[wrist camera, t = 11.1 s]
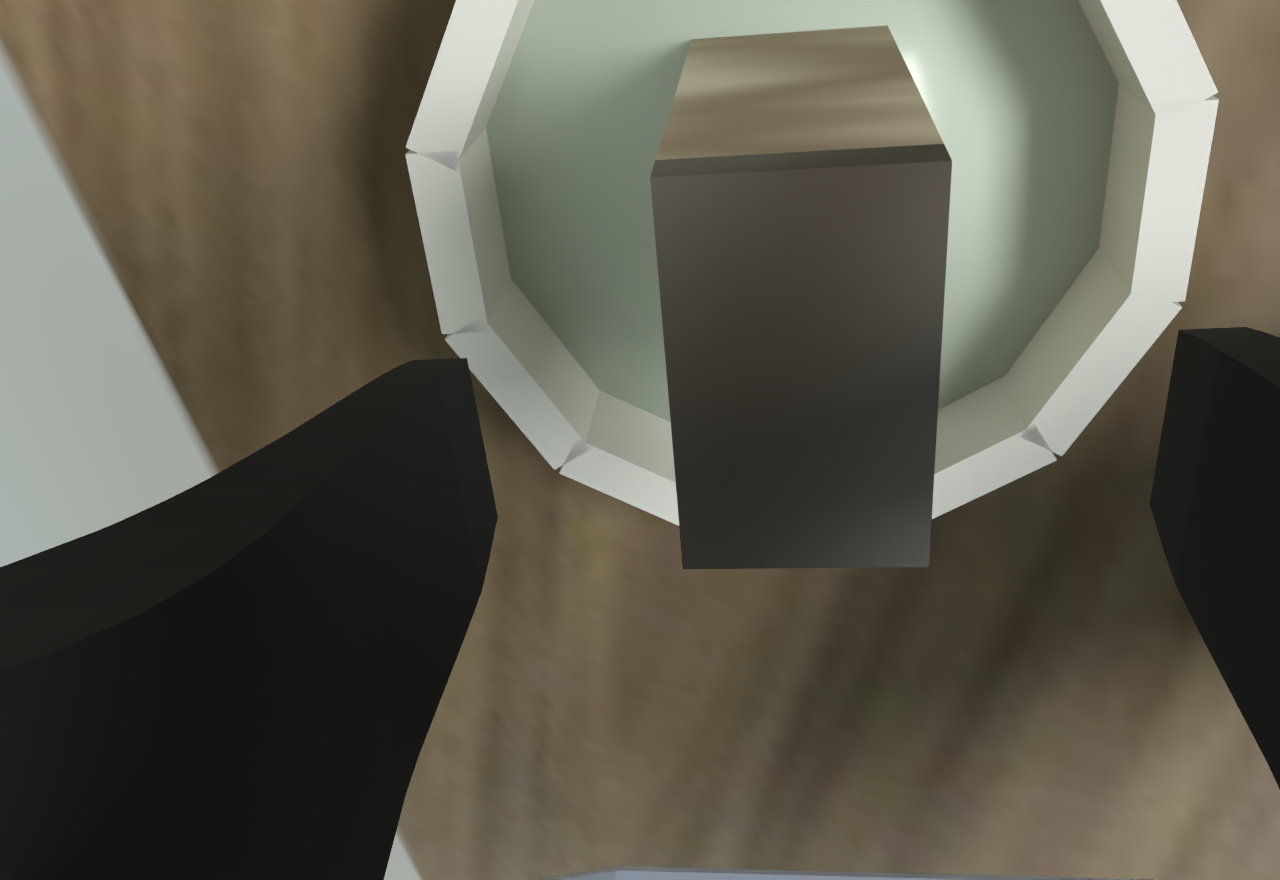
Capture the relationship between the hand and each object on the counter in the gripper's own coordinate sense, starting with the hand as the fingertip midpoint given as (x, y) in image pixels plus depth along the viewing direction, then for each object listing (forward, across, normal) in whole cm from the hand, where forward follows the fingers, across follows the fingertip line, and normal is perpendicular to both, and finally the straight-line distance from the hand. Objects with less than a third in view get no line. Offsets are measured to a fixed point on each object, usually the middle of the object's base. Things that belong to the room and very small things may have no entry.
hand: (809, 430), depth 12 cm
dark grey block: (+8, 0, 0) cm, 8 cm away
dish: (+8, 0, 0) cm, 9 cm away
